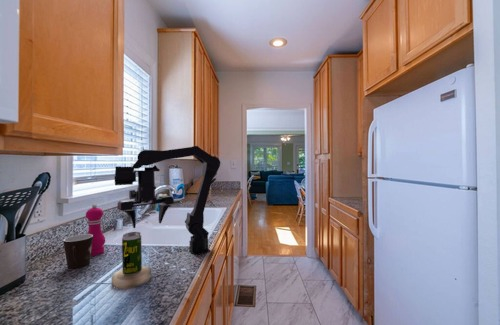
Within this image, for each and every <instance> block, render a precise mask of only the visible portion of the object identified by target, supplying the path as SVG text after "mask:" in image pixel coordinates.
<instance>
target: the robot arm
mask: <svg viewBox="0 0 500 325" xmlns="http://www.w3.org/2000/svg"><path fill="white" fill-rule="evenodd" d="M187 157H188V158H189V157H194V158H195V159H196V160H197V161H198V162H199V163H201V164H202V167H201V168H202V172H201V173H202V177H201V181H200V185H199V188H198V191H197V194H196V198H195V202H194V206H193V208H192V211H191V212H187V213H186V218H185V220H184V223H185V228H186V230H187V231H188V233H189V234H191V236H190V240H189V249H188V251H189V252H190V253H192V254H193V255H195V256H198V255H201V254H205V253H208V252H211V250H210V249H209V232H208V231H207V229H206V228H204V224H205V223H204V222H205V221H204V219H205V218H204V211H205V209H206V204H207V201H208V198H209V195H210V190H211V186H212V184H213V179H214V177H215V176H216V174H217V173H218V170H219V169H220V167H221V160H220V158H218V156H216V155H211V154H210V153H208V152H207V151H206V150H203V149H202V148H200V147H199V146H198V145H194V146H190V147H189V146H188V147H182V148H173V149H166V150H156V149H144V150H141V151H140V152H138V155H137V160H136V162H135V163H133V164H132V166H121V165H120V166H118V165H117V166H115V171H114V176H113V177H114V186H127V185H128V186H129V185H130V186H131V185H133V184H134V183H135V182H137V185H138V186H137V191H136V189H131V190H129V191H128V192H129V193H128V199H123V200H119V201H117V210H119V211H122V212H124V213H126V214H127V216H128V218H129V220H130V222H131V225H132V229H136V225H137V223H136V212H135V211H136V210H135V209H134V208H135V207H140V206H141V207H143V206H148V205H157V206H158V223H159V224H162V222H163V219H164V217H165V214H166V213H167V211H168V208H170V207H171V206H172V205H174V204H175V199H174V197H173V196H171V195H161V196H159V197H158V198H157V197H156V189H157V187H156V182H155V180H156V179H155V176H156V175H155V172H160V170H161V169H159V168H158V166H156V164H157V163H159V162H163V161H167V160H174V159H181V158H187ZM153 164H154V165H153ZM150 165H153V166H150ZM143 166H146V167H144V169H143V170H142V169H141V170H139V169H140V168H142V167H143ZM149 166H150V167H149ZM135 169H138V170H135ZM133 200H134V201H133Z"/></svg>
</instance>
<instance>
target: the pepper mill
mask: <svg viewBox="0 0 500 325" xmlns="http://www.w3.org/2000/svg"><path fill="white" fill-rule="evenodd" d="M103 217H104V211H103V209H102V208H100V207H98V204H96V203H94V204H92V205H91V208H89V209H88V210H87V211H86V212H85V218H86V219H87V222H86V224H87V225H88V232H87V234H92V235H93V240H92V248H91V256H90V257H92V256H97V255H101V254H103V253H104V252H105V246H104V245H105V243H106V237H105V235H104V233H103V232H102V228H101V225H102V224H101V223H103V219H102V218H103Z"/></svg>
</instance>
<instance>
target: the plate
mask: <svg viewBox="0 0 500 325" xmlns="http://www.w3.org/2000/svg"><path fill="white" fill-rule="evenodd" d="M151 279H152V268H151V267H149V266H147V265H142V270H141V272H140V273H139V274H137V275H134V276H129V277H128V276H124V275H123V268H122V269H120V270H117V271H116V272H114V273H113V274H112V275H111V287H112V288H114V287H115V289H116V288H118V290H127V289H133V288H137V287H140V286H142V285H144V284H146V283H147V282H149V281H150V280H151Z"/></svg>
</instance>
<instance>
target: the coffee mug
mask: <svg viewBox="0 0 500 325" xmlns="http://www.w3.org/2000/svg"><path fill="white" fill-rule="evenodd" d="M92 240H93V235H92V234H88V233H83V234H76V235H72V236H68V237H65V238H63V247H64V253H65V260H66V266H67V270H70V271H71V270H72V271H73V270H74V271H75V270H79V269H83V268H84V269H85V268H86V267H88V266H89V265H90V264H91V257H92V256H91V248H92Z"/></svg>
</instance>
